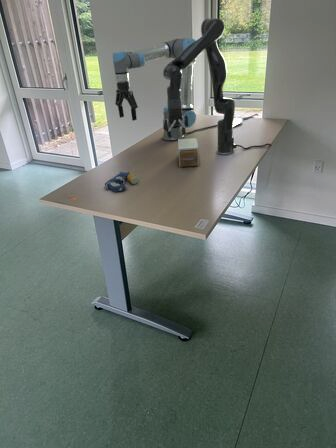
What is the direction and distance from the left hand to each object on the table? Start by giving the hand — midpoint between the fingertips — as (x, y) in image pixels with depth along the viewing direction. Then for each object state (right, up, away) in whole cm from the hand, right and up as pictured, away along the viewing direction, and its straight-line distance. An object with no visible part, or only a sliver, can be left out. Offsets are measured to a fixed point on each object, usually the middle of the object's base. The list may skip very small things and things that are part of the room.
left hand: (128, 118), depth 205 cm
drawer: (+37, -28, -4) cm, 46 cm away
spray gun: (0, -43, -22) cm, 48 cm away
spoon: (+75, +11, +56) cm, 95 cm away
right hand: (+29, -15, -18) cm, 38 cm away
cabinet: (+37, -25, +1) cm, 45 cm away
